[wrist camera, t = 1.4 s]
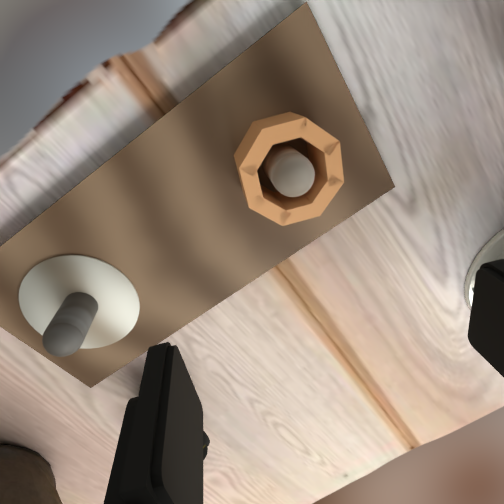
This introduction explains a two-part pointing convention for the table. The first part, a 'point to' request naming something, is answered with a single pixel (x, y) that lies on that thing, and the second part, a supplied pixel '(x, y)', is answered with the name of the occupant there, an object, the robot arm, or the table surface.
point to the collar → (320, 155)
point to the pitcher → (25, 477)
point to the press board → (184, 211)
